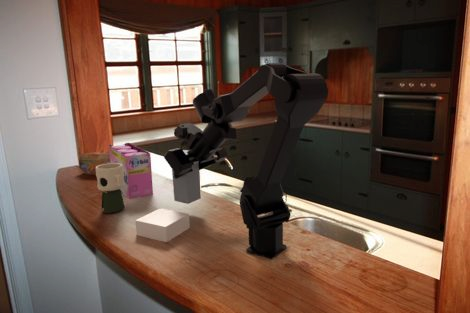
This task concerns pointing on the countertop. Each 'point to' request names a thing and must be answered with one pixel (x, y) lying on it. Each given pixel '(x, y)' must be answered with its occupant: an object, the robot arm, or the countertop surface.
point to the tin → (93, 161)
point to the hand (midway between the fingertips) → (182, 174)
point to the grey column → (187, 185)
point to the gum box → (133, 169)
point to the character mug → (111, 186)
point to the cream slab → (162, 224)
